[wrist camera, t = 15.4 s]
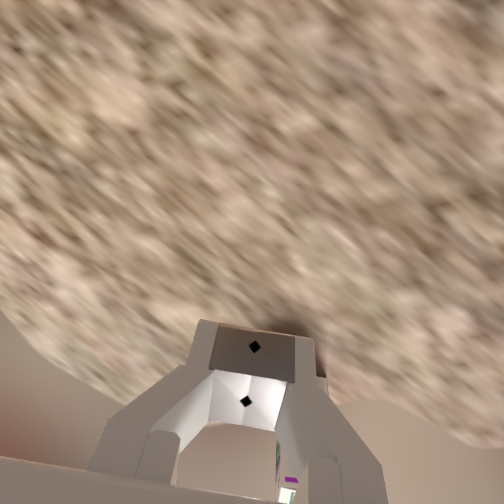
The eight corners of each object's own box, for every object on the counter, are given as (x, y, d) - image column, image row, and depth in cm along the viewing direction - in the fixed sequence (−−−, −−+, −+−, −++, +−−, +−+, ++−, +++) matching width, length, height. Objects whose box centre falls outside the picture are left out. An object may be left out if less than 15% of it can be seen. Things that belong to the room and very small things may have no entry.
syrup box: (281, 371, 53) (276, 487, 41) (328, 376, 53) (338, 495, 41) (277, 401, 57) (271, 518, 44) (322, 406, 56) (329, 525, 44)
